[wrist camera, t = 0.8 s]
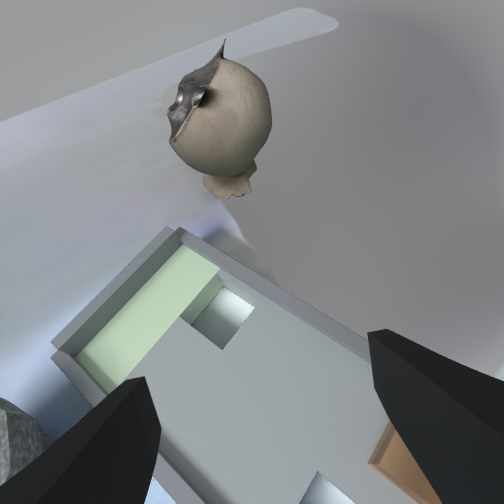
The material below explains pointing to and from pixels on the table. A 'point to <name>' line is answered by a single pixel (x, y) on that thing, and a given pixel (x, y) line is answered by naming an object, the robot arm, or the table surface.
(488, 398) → the robot arm
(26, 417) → the mortar and pestle
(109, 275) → the table surface
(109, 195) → the table surface
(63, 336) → the trap lane
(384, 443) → the block
